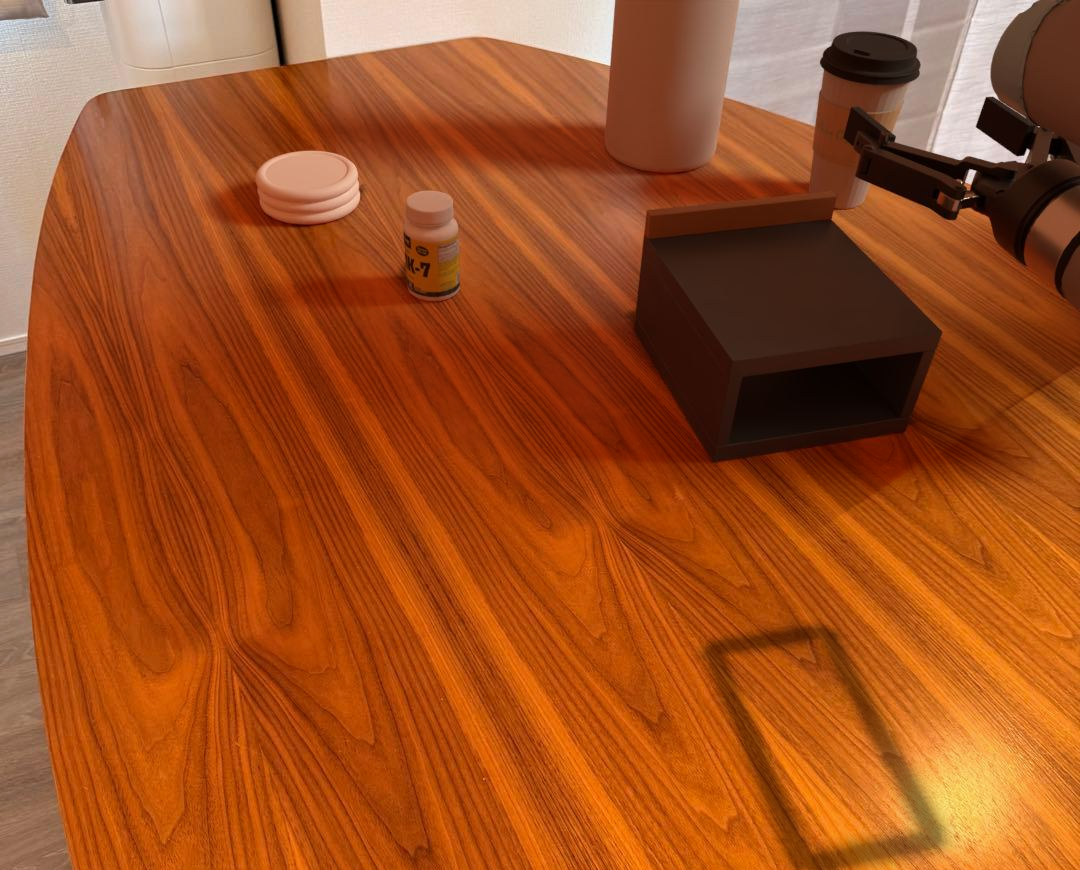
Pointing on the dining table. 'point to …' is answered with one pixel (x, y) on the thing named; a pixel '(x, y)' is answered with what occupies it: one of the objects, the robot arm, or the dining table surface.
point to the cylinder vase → (668, 81)
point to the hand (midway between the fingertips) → (918, 116)
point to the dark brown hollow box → (777, 327)
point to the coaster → (308, 187)
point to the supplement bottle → (431, 246)
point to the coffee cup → (857, 105)
